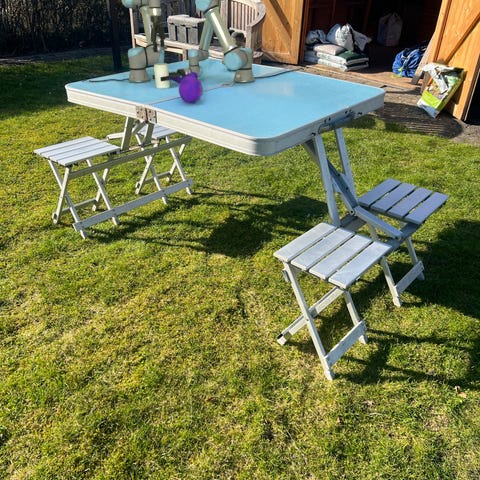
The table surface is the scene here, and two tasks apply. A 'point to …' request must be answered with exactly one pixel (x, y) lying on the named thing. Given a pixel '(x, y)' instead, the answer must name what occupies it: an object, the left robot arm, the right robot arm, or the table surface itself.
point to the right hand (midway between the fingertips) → (156, 78)
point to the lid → (160, 47)
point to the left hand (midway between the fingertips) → (159, 51)
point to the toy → (189, 87)
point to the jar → (161, 75)
